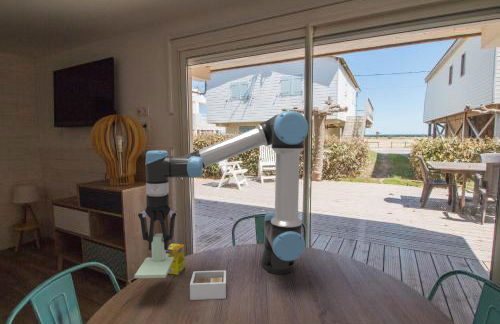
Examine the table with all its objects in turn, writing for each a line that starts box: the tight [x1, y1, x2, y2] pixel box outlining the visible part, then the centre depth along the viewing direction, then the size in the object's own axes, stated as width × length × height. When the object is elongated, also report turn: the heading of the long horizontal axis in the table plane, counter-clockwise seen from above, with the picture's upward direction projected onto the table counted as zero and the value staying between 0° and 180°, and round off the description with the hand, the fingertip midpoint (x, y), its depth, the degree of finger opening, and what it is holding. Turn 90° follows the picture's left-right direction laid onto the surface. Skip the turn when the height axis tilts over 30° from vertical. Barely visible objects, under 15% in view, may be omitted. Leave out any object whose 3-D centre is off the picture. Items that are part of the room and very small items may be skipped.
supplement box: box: [166, 243, 185, 276], centre depth 111 cm, size 6×6×11 cm
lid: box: [134, 233, 174, 279], centre depth 95 cm, size 16×10×10 cm, turn 4°
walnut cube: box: [196, 278, 208, 283], centre depth 96 cm, size 4×4×4 cm
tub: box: [189, 269, 227, 301], centre depth 96 cm, size 12×9×6 cm
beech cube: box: [210, 278, 222, 283], centre depth 97 cm, size 4×4×4 cm
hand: (158, 258), depth 98 cm, fingers closed on lid, 3 cm apart
